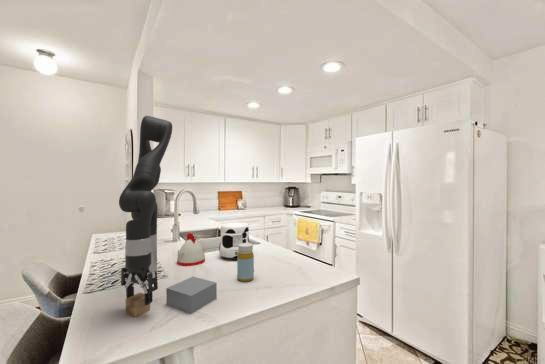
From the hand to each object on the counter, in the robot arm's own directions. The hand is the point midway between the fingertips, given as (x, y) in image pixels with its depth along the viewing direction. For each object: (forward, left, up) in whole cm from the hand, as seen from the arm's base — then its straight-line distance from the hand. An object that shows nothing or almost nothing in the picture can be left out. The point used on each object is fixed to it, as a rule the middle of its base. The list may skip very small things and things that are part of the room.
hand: (139, 301), depth 82 cm
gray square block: (+10, +13, -4) cm, 17 cm away
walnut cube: (-1, 0, -4) cm, 4 cm away
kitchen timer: (-21, +46, -4) cm, 50 cm away
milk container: (-5, +63, -4) cm, 63 cm away
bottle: (+17, +38, -4) cm, 42 cm away
